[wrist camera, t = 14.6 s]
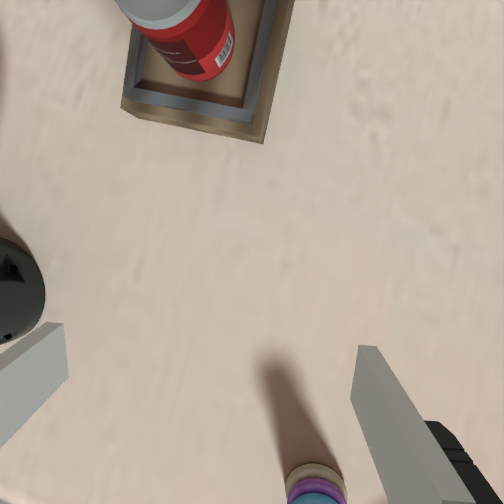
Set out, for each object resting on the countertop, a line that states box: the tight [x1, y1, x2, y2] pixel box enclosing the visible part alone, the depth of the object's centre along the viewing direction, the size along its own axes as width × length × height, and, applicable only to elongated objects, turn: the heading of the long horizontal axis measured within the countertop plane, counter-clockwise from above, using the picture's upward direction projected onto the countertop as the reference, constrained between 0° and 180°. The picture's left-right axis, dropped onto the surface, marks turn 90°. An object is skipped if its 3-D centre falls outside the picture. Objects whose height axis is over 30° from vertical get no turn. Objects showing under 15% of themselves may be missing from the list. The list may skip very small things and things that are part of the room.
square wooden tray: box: [120, 0, 295, 144], centre depth 34 cm, size 16×16×6 cm
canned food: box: [115, 0, 235, 82], centre depth 27 cm, size 8×8×11 cm
